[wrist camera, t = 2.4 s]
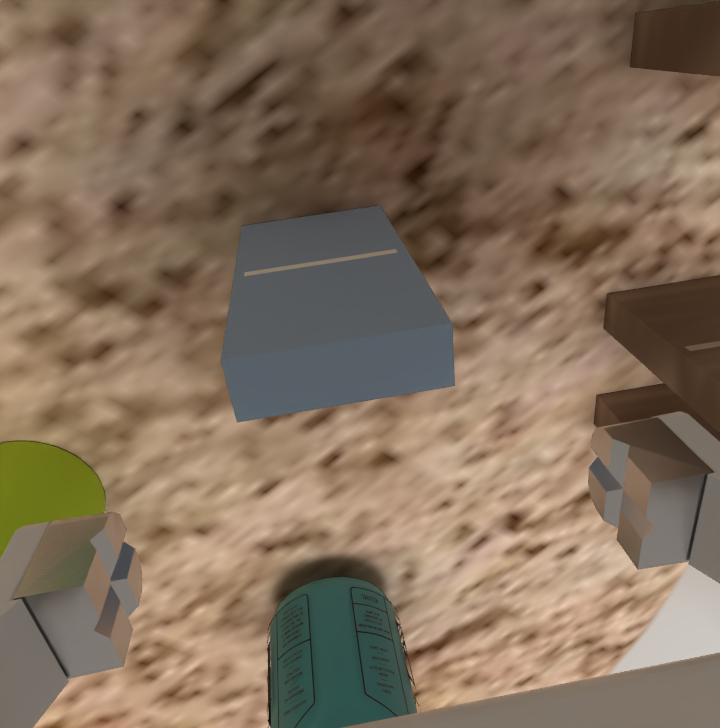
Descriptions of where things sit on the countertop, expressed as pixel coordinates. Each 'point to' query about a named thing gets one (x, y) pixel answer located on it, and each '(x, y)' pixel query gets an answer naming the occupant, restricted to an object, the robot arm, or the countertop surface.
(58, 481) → the soap dispenser
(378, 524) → the countertop surface
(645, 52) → the domino
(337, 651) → the beverage bottle
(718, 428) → the domino
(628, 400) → the domino
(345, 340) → the domino
